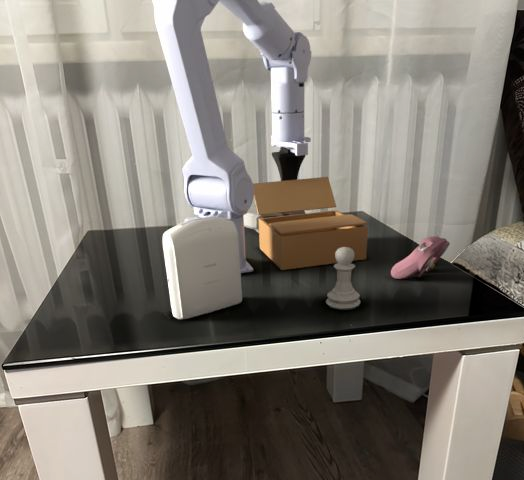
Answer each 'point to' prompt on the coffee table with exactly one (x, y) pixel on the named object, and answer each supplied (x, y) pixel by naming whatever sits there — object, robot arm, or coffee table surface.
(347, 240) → the carton
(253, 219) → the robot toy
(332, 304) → the chess piece
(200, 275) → the photo printer
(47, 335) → the coffee table surface
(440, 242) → the pink shoe
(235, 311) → the coffee table surface
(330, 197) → the flap
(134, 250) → the coffee table surface
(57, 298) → the coffee table surface
